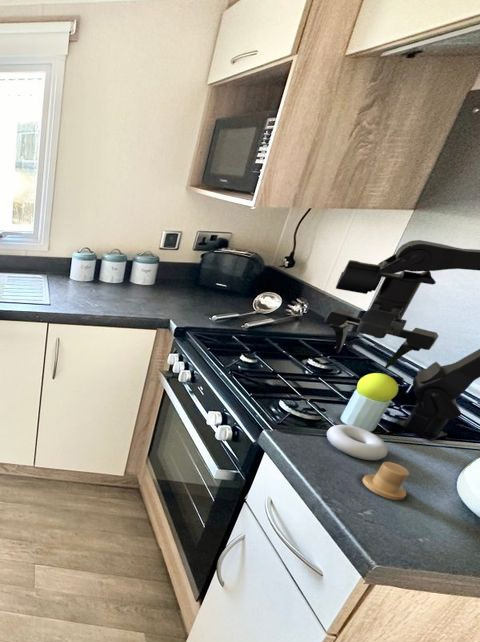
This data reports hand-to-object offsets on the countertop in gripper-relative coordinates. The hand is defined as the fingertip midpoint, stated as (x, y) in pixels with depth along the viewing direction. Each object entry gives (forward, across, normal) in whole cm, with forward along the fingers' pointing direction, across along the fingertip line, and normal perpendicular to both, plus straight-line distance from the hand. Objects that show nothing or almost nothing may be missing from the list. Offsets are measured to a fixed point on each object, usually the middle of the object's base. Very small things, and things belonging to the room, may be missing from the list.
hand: (360, 360), depth 99 cm
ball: (+3, +5, -6) cm, 8 cm away
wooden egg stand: (+13, +15, -29) cm, 35 cm away
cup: (+13, +5, -6) cm, 15 cm away
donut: (+13, +8, -18) cm, 24 cm away
